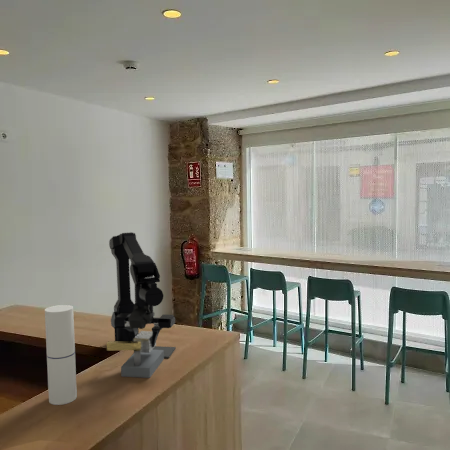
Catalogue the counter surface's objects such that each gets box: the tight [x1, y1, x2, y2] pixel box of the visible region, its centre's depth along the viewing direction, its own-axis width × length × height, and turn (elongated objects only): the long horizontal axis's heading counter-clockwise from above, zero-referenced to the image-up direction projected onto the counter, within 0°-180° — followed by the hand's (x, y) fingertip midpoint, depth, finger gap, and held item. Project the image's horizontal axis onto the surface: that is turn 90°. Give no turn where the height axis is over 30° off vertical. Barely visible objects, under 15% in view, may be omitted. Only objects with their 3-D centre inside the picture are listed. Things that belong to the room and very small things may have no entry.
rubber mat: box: [152, 345, 176, 359], centre depth 153 cm, size 12×9×1 cm
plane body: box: [120, 350, 165, 379], centre depth 140 cm, size 9×15×8 cm, turn 172°
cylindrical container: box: [44, 304, 78, 406], centre depth 119 cm, size 7×7×25 cm
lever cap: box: [134, 330, 157, 353], centre depth 142 cm, size 5×7×4 cm
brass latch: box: [106, 340, 141, 352], centre depth 134 cm, size 3×10×2 cm, turn 89°
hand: (145, 346), depth 142 cm, fingers closed on lever cap, 5 cm apart
